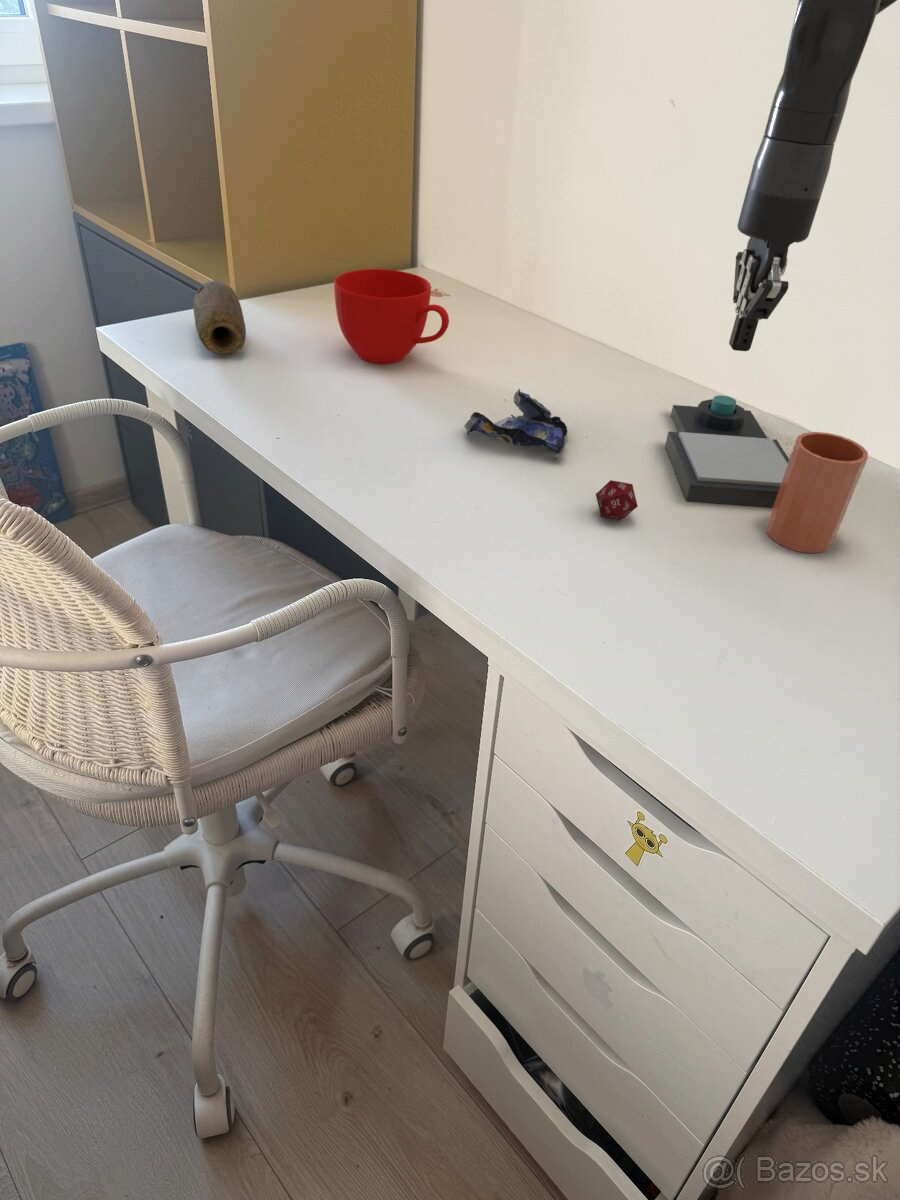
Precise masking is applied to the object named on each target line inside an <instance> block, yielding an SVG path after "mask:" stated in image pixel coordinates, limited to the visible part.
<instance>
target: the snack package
mask: <svg viewBox="0 0 900 1200" xmlns="http://www.w3.org/2000/svg"><path fill="white" fill-rule="evenodd" d="M504 401H507V400H506V399H504ZM513 403H514V405H516V408H518V410H519V411H520V412H521V413H522V415H517V416H515V415H514V414H510V416H508V417H505V418H502V419H500V420H498V421H496V422H495V423H494V422H493V421H492V420H490V419H489V418H488V417H487V416H486V415H484V414H483V413H480V412H477V411H475V412H472V414H471V415H470V417H469V419H468V420H467V421H466V423H464V425H463V426H464V428H465V430H466V434H467V435H468V436H469V435H470V433H473V432H477V433H479V434H482V435H484V436H487V437H491V438H495V439H497V440H499V441H503V442H505V443H508V444H510V445H513V446H519V447H545V448H547V449H549V450H551V451H553V452H555V453H556V454H560V453H561V451H562V450H563V448H564V447H565V438H566V436H567V434H568V426H567V425H566V423H565V422H564V421H563V420H562V419H561V417H560V416H556V415H555V416H552V413H551V411H550V409H548V408H547V407H545V405H544V404H543V403H541V402H539V401H538V399H536V398H533V397H531V396H530V394H528V393H526V392H523V391H521V389H520V387H519V388H518V390H517V391H516V392H515V393H514V395H513ZM551 416H552V417H551ZM556 459H557V457H555V458H554V460H556Z"/></svg>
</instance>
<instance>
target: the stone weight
mask: <svg viewBox="0 0 900 1200" xmlns="http://www.w3.org/2000/svg"><path fill="white" fill-rule="evenodd" d="M193 297H194V298H193V306H192V307H193V319H194V325H195V328H196V333H197V336H198V338H199V340H200V342H201V344H202V345H203V346H204V348H205V349H206V350H207V351H209V352H211V353H213V354H219V355H227V354H234V353H237V352H238V351H240V350H241V349H242V348H243V347H244V346H245V342H246V338H247V337H246V336H247V330H246V329H247V328H246V322H245V317H244V313H243V309H242V306H241V302H240V299H239V297H238V296H237V294H236V292H235V290H233V288H232V287H231V286H229V285H227V284H226V283H225V282H223V281H219V280H209V281H206V282H204V283H203V284H201V286H199V288H198V289H197V290H196V292H195V294H194V296H193Z"/></svg>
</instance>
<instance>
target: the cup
mask: <svg viewBox="0 0 900 1200" xmlns="http://www.w3.org/2000/svg"><path fill="white" fill-rule="evenodd" d="M868 458H869V453H868V450H866V448H865V447H864V446H863V445H861V444H859V443H858V442H856V441H855V440H853V439H850V438H847V437H845V436H842V435H840V434H839V435H838V434H834V433H829V432H821V431H809V432H803V433H801V434H799V435H797V437H796V439H795V442H794V445H793V448H792V451H791V454H790V456H789V462H788V465H787V468H786V470H785V473H784V476H783V479H782V482H781V485H780V488H779V491H778V493H777V496H776V499H775V502H774V505H773V507H771V511H770V514H769V516H768V520H767V523H766V527H765V531H766V533H767V535H768V537H769V538H770V539H771V540H772V541H774V542H775V543H776V544H779V545H780V546H782V547H784V548H786V549H788V550H789V549H790V551H791V550H792V551H795V552H799V553H805V554H819V553H823V552H827V551H828V550H829V549H830V548H831V547H832V545H833V543H834V541H835V539H836V536H837V534H838V531H839V529H840V527H841V524H842V522H843V519H844V517H845V514H846V512H847V510H848V507H849V505H850V502H851V500H852V498H853V495H854V492H855V490H856V488H857V485H858V482H859V481H860V478H861V476H862V473H863V470H864V468H865V467H866V464H867V461H868Z"/></svg>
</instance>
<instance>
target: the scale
mask: <svg viewBox="0 0 900 1200" xmlns="http://www.w3.org/2000/svg"><path fill="white" fill-rule="evenodd" d="M664 448H665V451H666V453H667V457H668V458H669V461H670V464H671V466H672V469H673V471H674V473H675V477H676V479H677V481H678V484H679V486H680V488H681V491H682V493H683V497H684V499H685V501H686V502H698V503H710V504H711V503H712V504H723V505H735V506H736V505H738V506H749V507H750V506H751V507H766V508H773V505H774V502H775V499H776V496H777V493H778V491H779V488H780V485H781V482H782V479H783V476H784V473H785V470H786V468H787V465H788V462H789V459H790V457H788V455H787V453H786V451H785V450H784V449H783V447H782V445H781V444H780V443H779V441H778V439H775V438H774V439H773V438H768V437H767V438H754V437H741V436H727V435H714V434H701V433H687V432H678V431H668V432H667V436H666V439H665V444H664Z"/></svg>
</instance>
